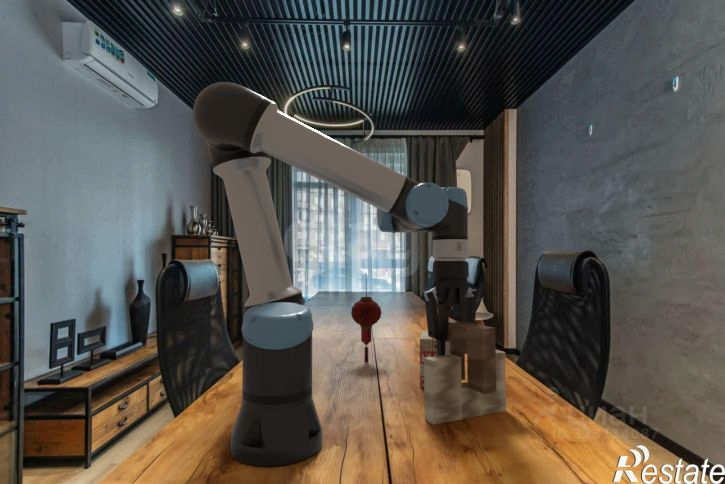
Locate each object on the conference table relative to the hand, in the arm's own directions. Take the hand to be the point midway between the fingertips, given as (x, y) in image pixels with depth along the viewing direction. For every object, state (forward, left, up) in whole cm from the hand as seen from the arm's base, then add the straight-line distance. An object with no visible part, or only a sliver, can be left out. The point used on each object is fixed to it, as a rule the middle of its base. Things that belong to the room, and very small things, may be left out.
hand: (452, 370), depth 90 cm
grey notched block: (0, -5, -8) cm, 9 cm away
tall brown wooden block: (0, -5, -2) cm, 5 cm away
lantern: (+1, +46, -8) cm, 46 cm away
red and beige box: (+10, +22, -8) cm, 26 cm away
